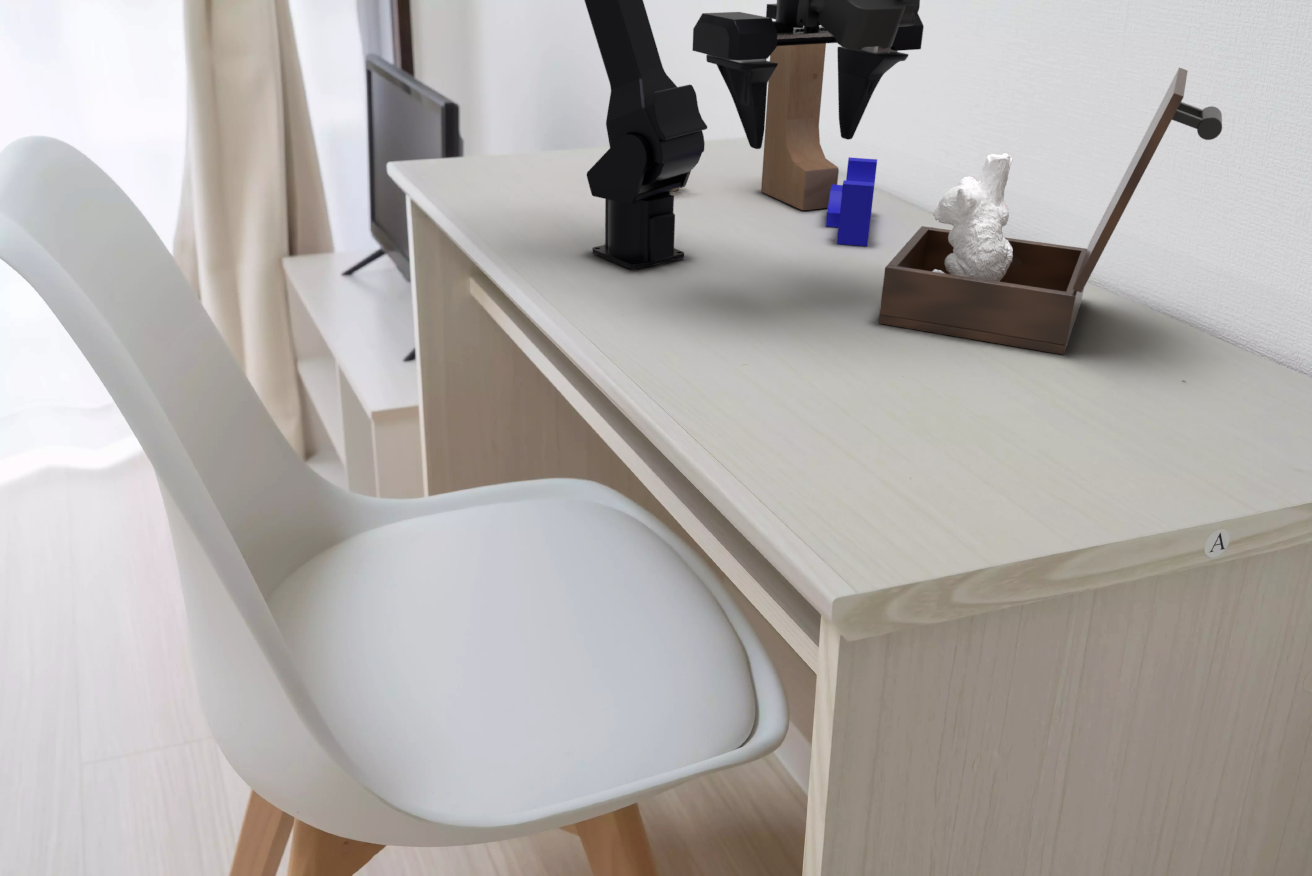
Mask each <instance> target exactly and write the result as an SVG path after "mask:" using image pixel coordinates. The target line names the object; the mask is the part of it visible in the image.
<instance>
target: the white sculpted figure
mask: <svg viewBox="0 0 1312 876" xmlns="http://www.w3.org/2000/svg"><path fill="white" fill-rule="evenodd" d="M1012 163H1013V158H1012V155H1010V154H1008V153H1007V152H1003V153H1002V154H995V153H990V154H988V155H987V156H986V159H985V161H984V164H983V166H982V168H981V173H980V178H979V180H978V181H977V179H975V178H974V177H973V176H964V177H962V179H960V181H959V182H958V185H956V186H953V187H951V188H950V189H949V190H947V191H946V192H945V193H944V194H943V195H942V197H941V198H940V199H939V201H938V204H937V205H936V206H935V207H934V209H933V210H932V216H933V217H934V220H935V221H938V222H939V223H941V224H944V225H945V224H946V225H950V226H952V227H953V228H952V229H950V230H951V231H950V233H949V236H948V240H949V243H950V244H951V245H952V246H953V247H954V249H953V253H950V254H949V255H948V256H947V257H946V259H945V263H944V264H945V268H946V270H947V272H948V273H950V274H952V275H958V276H965V277H972V278H978V279H985V280H991V281H998V282H999V281H1000V280H1001V279H1002V278H1003V277H1004V275H1005V273H1006V271H1007V269H1008V268H1009V265H1010V263H1011V262H1012V258H1013V249H1012V247H1011V245H1010V243H1009V241H1008V240H1007V239H1005V238H1006V237H1005V236H1004V234H1003V227H1005V226H1006V225H1007V224H1008V222H1009V218H1010V210H1009V207H1008V204H1007V203H1006V200H1005V191H1006V190H1005V189H1006V186H1007V185H1008V184H1007V183H1008V180H1009V173H1010V169H1011V165H1012ZM1004 237H1005V238H1004ZM932 272H938V273H944V272H942V271H941V270H936V269H934V270H933V271H932ZM945 274H946V273H945Z"/></svg>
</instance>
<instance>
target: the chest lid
mask: <svg viewBox="0 0 1312 876" xmlns="http://www.w3.org/2000/svg"><path fill="white" fill-rule="evenodd" d="M1188 72H1189V70H1187V69H1185V68H1182V67H1178V69H1177V71H1176V73H1175V75H1174V76H1173V78H1172V80H1171V82H1170V84H1169V86H1168V88H1167V90H1166V92H1165V94H1164V96H1163V98H1162V100H1161V102H1160V103H1159V106H1158V108H1157V109H1156V112H1155V113H1154V116H1153V117H1152V120H1151V121H1150V123H1149V126H1148V127H1147V129H1146V131H1145V133H1144V135H1143V137H1142V139H1141V141H1140V143H1139V145H1138V146H1137V148H1136V151H1135V152H1134V155H1133V157H1132V158H1131V161H1130V163H1129V164H1128V166H1127V168H1126V170H1125V172H1124V174H1123V176H1122V178H1121V180H1120V182H1119V184H1118V186H1117V188H1116V189H1115V192H1114V193H1113V196H1112V197H1111V199H1110V201H1109V203H1108V205H1107V207H1106V209H1105V211H1104V213H1103V215H1102V217H1101V219H1100V220H1099V223H1098V225H1097V226H1096V229H1095V230H1094V233H1093V235H1092V236H1091V238H1090V240H1089V242H1088V245H1087V248H1086V249H1087V250H1086V253H1085V256H1084V259H1083V262H1082V264H1081V267H1080V270H1079V273H1078V275H1077V278H1076V281H1075V284H1074V287H1073V290H1076V291H1078V292H1082V291H1083V289H1084V290H1085V287H1086V285H1087V283H1088V281H1089V279H1090V277H1091V275H1092V273H1093V272H1094V270H1095V268H1096V266H1097V265H1098V262H1099V260H1100V258H1101V256H1102V254H1103V252H1104V251H1105V249H1106V247H1107V245H1108V243H1109V241H1110V239H1111V238H1112V235H1113V233H1114V231H1115V230H1116V228H1117V226H1118V224H1119V222H1120V220H1121V219H1122V218H1121V217H1122V216H1123V214H1124V212H1125V210H1126V208H1127V206H1128V204H1129V202H1130V201H1131V199H1132V197H1133V195H1134V193H1135V191H1136V189H1137V187H1138V185H1139V184H1140V181H1141V180H1142V177H1143V176H1144V174H1145V172H1146V170H1147V168H1148V166H1149V164H1150V162H1151V160H1152V158H1153V156H1154V155H1155V153H1156V151H1157V149H1158V147H1159V145H1160V143H1161V141H1162V139H1163V138H1164V136H1165V133H1166V132H1167V130H1168V128H1169V127H1170V125H1171V123H1172V121H1174V122H1177V123H1179V124H1182V125H1185V126H1188V127H1190V128H1193V129H1196V131H1197V135H1198V136H1199V138H1201V139H1202V140H1205V141H1211V140H1214V139H1216V138H1218V137H1219V136H1220V135H1221V133H1222V131H1223V114H1222V111H1221V110H1220V109H1219V108H1218V107H1216V106H1207V107H1204V108H1199V107H1197V106H1194V105H1191V104H1188V103H1186V102H1183V99H1184V97H1185V89H1186V84H1187V77H1188ZM1083 292H1084V291H1083Z"/></svg>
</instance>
